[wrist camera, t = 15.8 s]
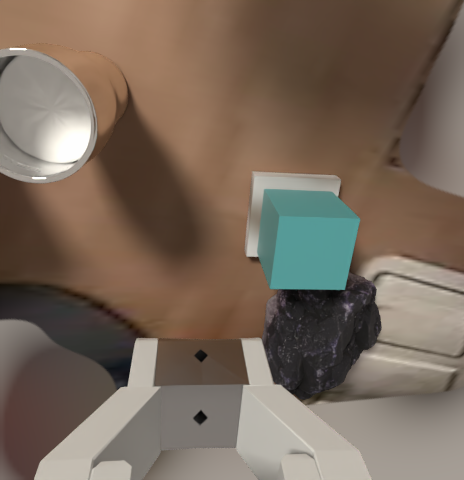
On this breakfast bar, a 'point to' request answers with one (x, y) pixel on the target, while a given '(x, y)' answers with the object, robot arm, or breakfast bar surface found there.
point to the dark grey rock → (319, 334)
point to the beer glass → (55, 109)
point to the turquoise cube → (306, 239)
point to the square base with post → (280, 182)
